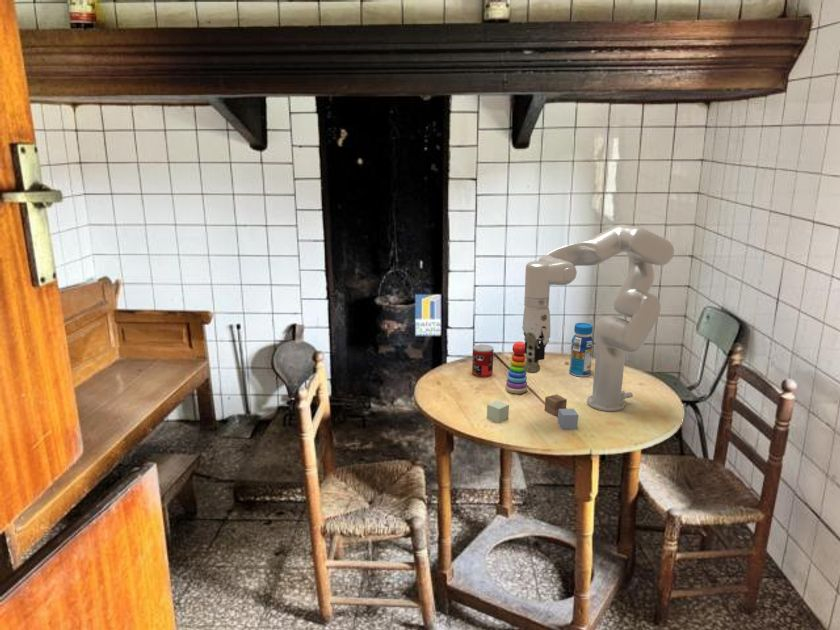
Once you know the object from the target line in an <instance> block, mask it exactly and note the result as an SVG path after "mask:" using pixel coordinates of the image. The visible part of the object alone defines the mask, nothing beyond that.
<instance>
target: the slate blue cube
mask: <svg viewBox="0 0 840 630" xmlns="http://www.w3.org/2000/svg"><path fill="white" fill-rule="evenodd" d="M557 424H558V425H560V426H559V427H560V429H561V428H562V429H567V430H578V427H579V426H578V425H579V414H578V411H576V410H575V408H566V409H559V411H558V415H557ZM562 429H561V430H562Z"/></svg>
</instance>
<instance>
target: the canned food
mask: <svg viewBox="0 0 840 630" xmlns="http://www.w3.org/2000/svg"><path fill="white" fill-rule="evenodd" d="M471 363H472V365H471V367H472V368H471V369H472V371H471V373H472V375H473V376H475V377H478V378H488V377H491V376H492V374H493V373H494V372H493V371H494V370H493V368H494V346H492V345H490V344H476V345H474V346H473V347H472V362H471Z"/></svg>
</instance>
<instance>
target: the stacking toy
mask: <svg viewBox="0 0 840 630" xmlns="http://www.w3.org/2000/svg"><path fill="white" fill-rule="evenodd" d="M511 350H512V352H513V354H511V360H510V365H509V370H508V372H507V373H508V375H507V377H506V378H507V379H506V381H505V382H506V384H505V387H504V388H505V390H506V392H509V393H511V394H516V395H519V394H520V395H521V394H524V393H525V392H527V390H528V386H527V385H528V383H527V372H526V371H525V370H524V365H525V364H526V354H525V342H523V341H516V342H514V343H513V345H512V349H511Z"/></svg>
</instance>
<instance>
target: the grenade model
mask: <svg viewBox="0 0 840 630" xmlns="http://www.w3.org/2000/svg"><path fill="white" fill-rule="evenodd" d="M524 338H525V339H526V341H527V353H526V354H525V356H526V359H525V361H526V364H525V365H524V370H525V371H526V373H528V374H537V373H539V372H540V370H541V366H540V364H539V360H535V348H536V339H534V336H532V334H529V333H527V334H525V336H524ZM539 338H541V339H542V340H539V343H540V342H542V341H543V338H542V335H541V336H539ZM526 341H525V342H526Z"/></svg>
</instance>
